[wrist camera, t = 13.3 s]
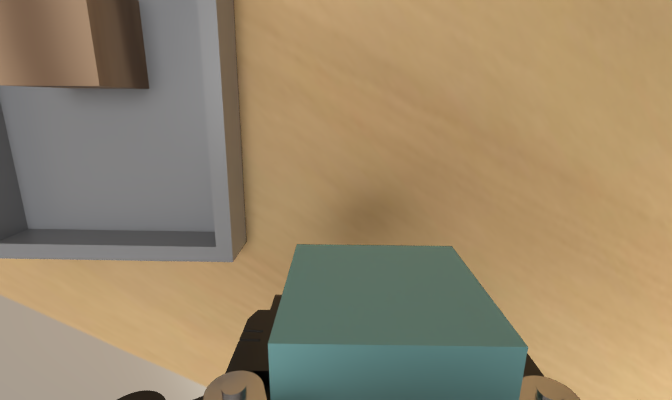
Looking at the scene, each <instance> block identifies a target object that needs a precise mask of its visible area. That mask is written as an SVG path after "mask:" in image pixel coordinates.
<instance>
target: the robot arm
mask: <svg viewBox="0 0 672 400" xmlns="http://www.w3.org/2000/svg"><path fill="white" fill-rule="evenodd" d="M281 297H282V295H275V297H274V300H273V303H272V306H271V309H270V310H258V311H257V312H255V313H254V314H253V315H252V316H251V317H250V318H249V319H248V320H247V323H246V325H245V327H244V330H243V332H242V335H241V337H240V341H239V342H238V344H237V347H236V349H235V351H234V354H233V356H232V359H231V361H230V364H229V366H228V368H227V371H226V373H225V374H223V375H221V376H219V377H218V378H216V379H215V380H214V381H212V382H211V383H210V385H209V386H208V387H207V389H206V390H205V393H204V396H202V397H199V398H197V399H194V400H271V399H270V378H269V357H268V341H269V338H270V334H271V331H272V328H273V324H274V321H275V317H276V314H277V311H278V307H279V304H280V300H281ZM118 400H165V398H164V397H163V396H162V395H161V394H160V393H158V392H155V391H138V392H134V393H131V394H128V395H126V396H123V397H121V398H120V399H118ZM519 400H580V398H579V397H578V396H577V395H576V394H575V393H574V392H573V391H572V390H571V389H569V388H568V387H567V386H565V385H563V384H562V383H560V382H558V381H555V380H553V379H550V378H547V377H544V375H543V374H542V373H541V371H540V370H539V368H538V367H537V366H536V364H535V363H534V362H533V360H532V359H531V358H530V356H529V355H528V354H527V356H526V362H525V368H524V374H523V380H522V386H521V391H520V397H519Z"/></svg>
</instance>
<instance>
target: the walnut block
mask: <svg viewBox="0 0 672 400" xmlns="http://www.w3.org/2000/svg"><path fill="white" fill-rule="evenodd" d="M0 85H2V86H26V87H50V88H97V89H149V81H148V73H147V65H146V56H145V48H144V40H143V32H142V24H141V16H140V7H139V1H138V0H0Z"/></svg>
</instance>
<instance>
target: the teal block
mask: <svg viewBox="0 0 672 400" xmlns="http://www.w3.org/2000/svg"><path fill="white" fill-rule="evenodd" d="M527 351H528V346H527V345H526V344H525V342H524V341H523V340H522V338H521V337H520V336H519V334H518V333H517V332H516V330H515V329H514V328H513V326H512V325H511V324H510V323H509V321H508V320H507V319H506V317H505V316H504V315H503V313H502V312H501V311H500V309H499V308H498V307H497V305H496V304H495V303H494V301H493V300H492V299H491V297H490V296H489V295H488V293H487V292H486V291H485V290H484V288H483V287H482V286H481V284H480V283H479V282H478V280H477V279H476V278H475V276H474V275H473V274H472V272H471V271H470V270H469V268H468V267H467V266H466V264H465V263H464V262H463V260H462V259H461V258H460V257H459V255H458V254H457V253H456V251H455V250H454V249H453V247H452V246H394V245H307V244H297V246H296V249H295V253H294V256H293V260H292V263H291V266H290V270H289V273H288V277H287V280H286V283H285V287H284V290H283V294H282V297H281V300H280V304H279V307H278V311H277V314H276V317H275V321H274V324H273V328H272V331H271V334H270V338H269V341H268V357H269V378H270V399H271V400H519V397H520V391H521V386H522V380H523V374H524V368H525V362H526V356H527Z"/></svg>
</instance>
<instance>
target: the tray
mask: <svg viewBox="0 0 672 400" xmlns="http://www.w3.org/2000/svg"><path fill="white" fill-rule="evenodd" d="M138 1H139V7H140V16H141V24H142V32H143V40H144V48H145V56H146V65H147V73H148V81H149V89H97V88H50V87H26V86H2V85H0V258H14V259H76V260H138V261H200V262H233V261H234V260H235V258H236V257H237V255H238V254H239V252H240V251H241V249H242V247H243V246H244V244H245V243H246V224H245V205H244V187H243V168H242V150H241V131H240V112H239V94H238V75H237V57H236V38H235V20H234V1H233V0H138Z"/></svg>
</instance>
